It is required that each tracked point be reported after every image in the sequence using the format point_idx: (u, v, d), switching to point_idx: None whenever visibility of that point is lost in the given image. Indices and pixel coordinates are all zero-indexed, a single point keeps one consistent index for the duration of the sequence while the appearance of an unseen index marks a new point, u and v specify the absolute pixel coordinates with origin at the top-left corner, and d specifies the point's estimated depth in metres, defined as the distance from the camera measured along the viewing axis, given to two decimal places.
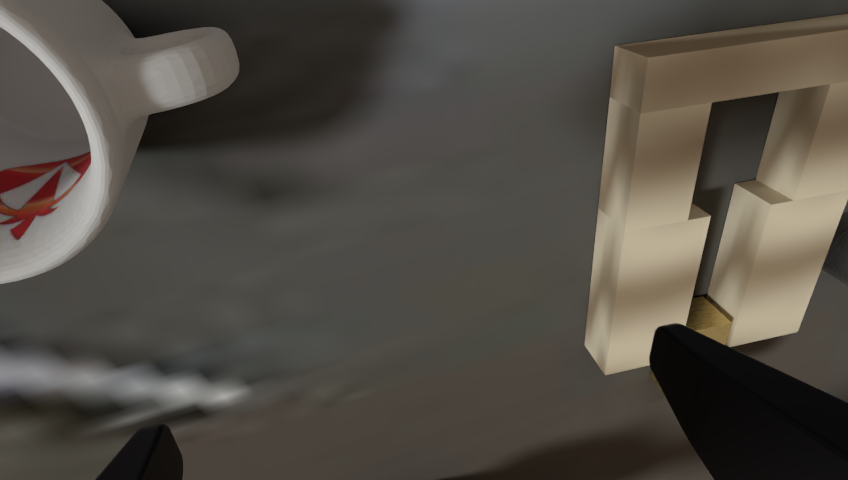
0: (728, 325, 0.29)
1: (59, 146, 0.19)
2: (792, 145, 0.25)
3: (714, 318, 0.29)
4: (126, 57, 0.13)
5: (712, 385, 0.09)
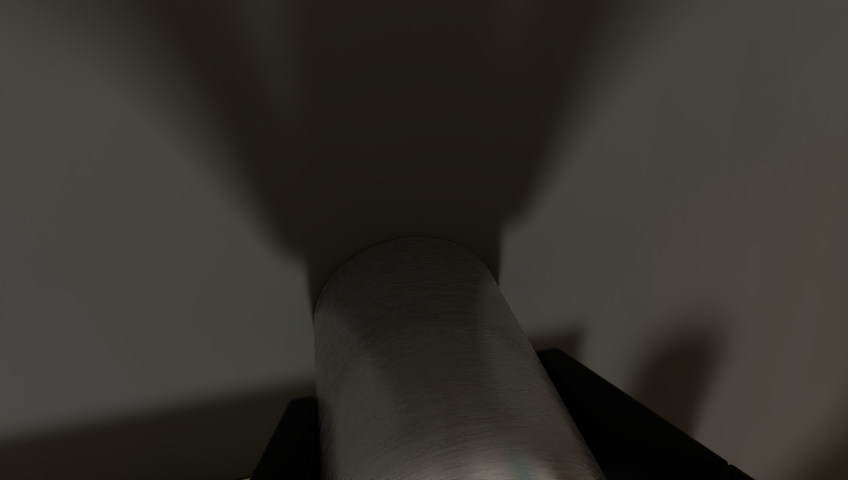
0: None
1: None
2: None
3: None
4: None
5: (572, 415, 0.08)
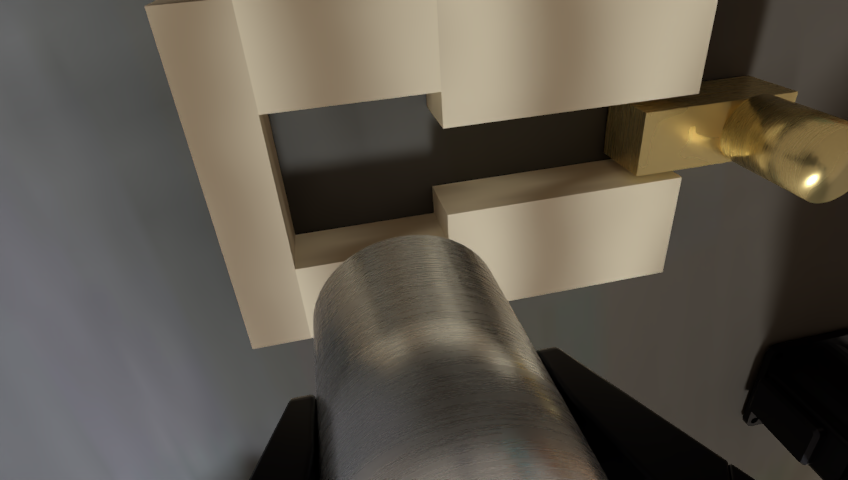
0: (650, 116, 0.18)
1: None
2: None
3: (634, 125, 0.19)
4: None
5: (573, 415, 0.08)
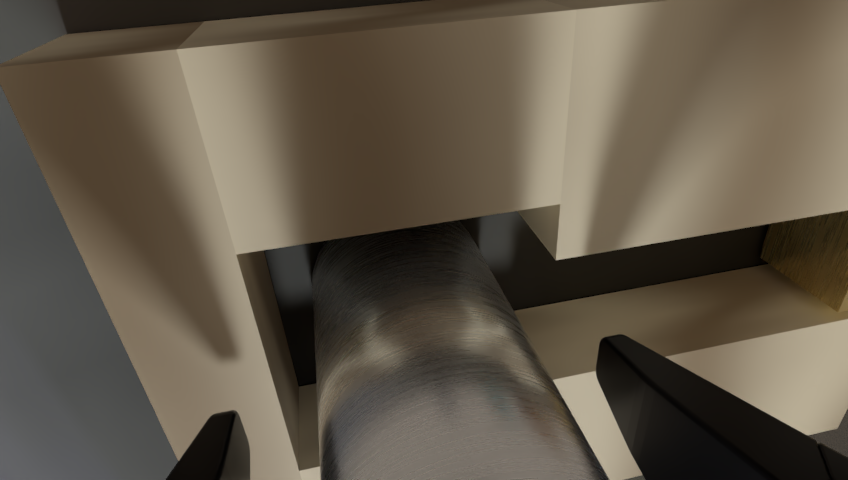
0: None
1: None
2: None
3: (842, 235, 0.12)
4: None
5: (648, 399, 0.08)
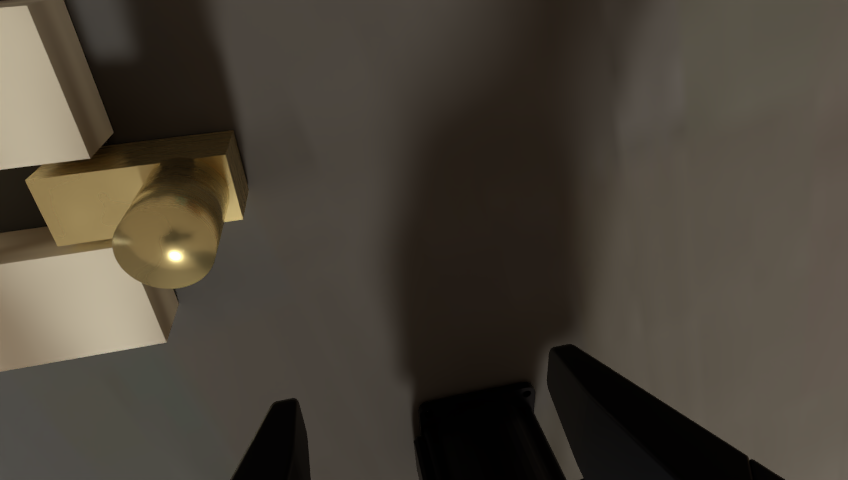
0: (33, 183, 0.16)
1: None
2: None
3: None
4: None
5: (590, 411, 0.08)
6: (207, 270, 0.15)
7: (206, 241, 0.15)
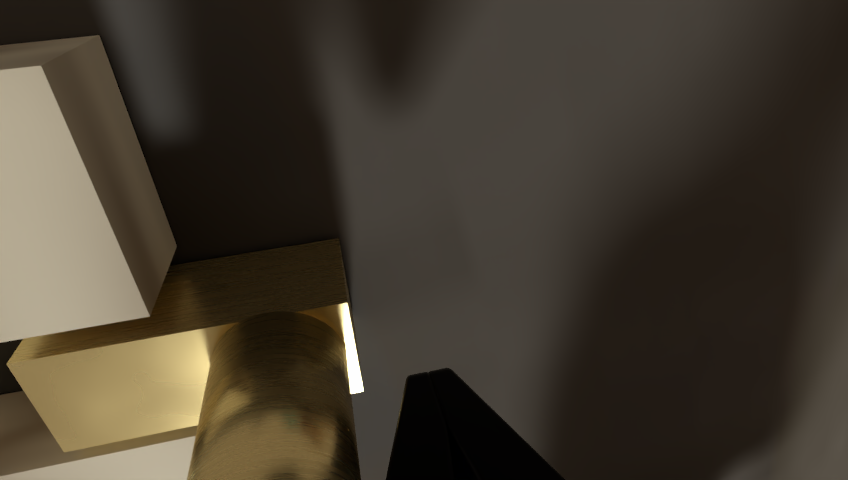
0: (21, 368, 0.09)
1: None
2: None
3: None
4: None
5: (449, 442, 0.08)
6: None
7: None
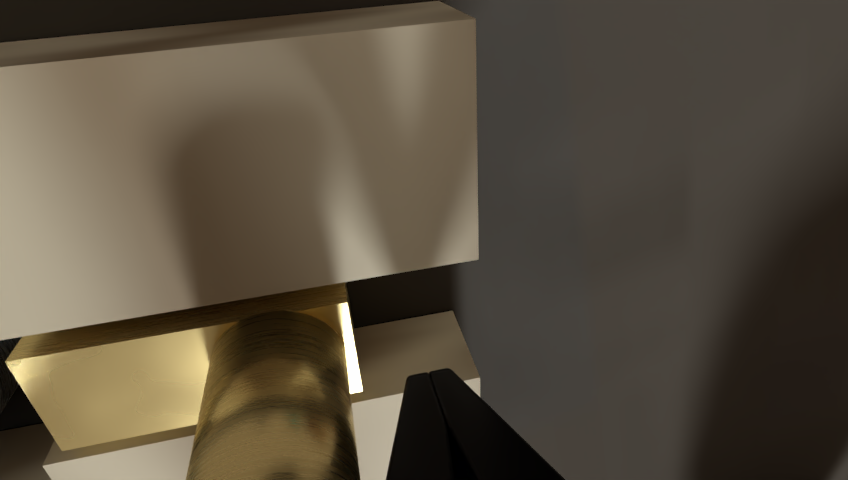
0: (19, 366, 0.09)
1: None
2: None
3: None
4: None
5: (449, 442, 0.08)
6: None
7: None
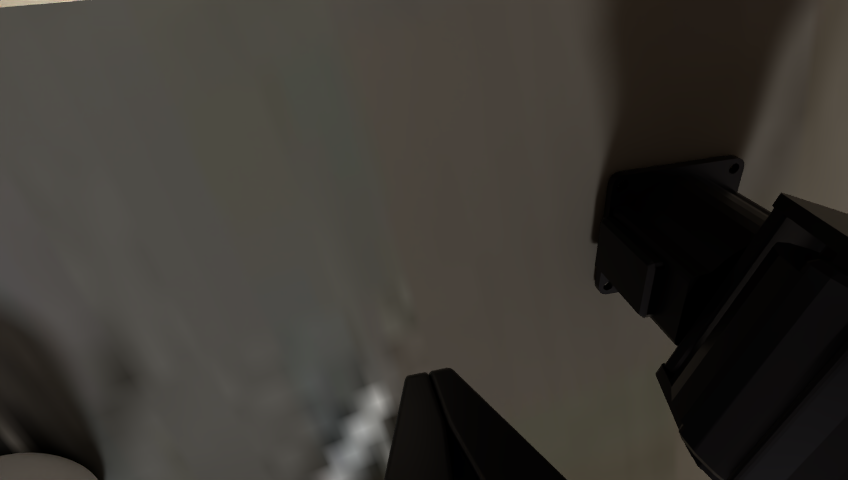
0: None
1: None
2: None
3: None
4: None
5: (450, 442, 0.08)
6: None
7: None
